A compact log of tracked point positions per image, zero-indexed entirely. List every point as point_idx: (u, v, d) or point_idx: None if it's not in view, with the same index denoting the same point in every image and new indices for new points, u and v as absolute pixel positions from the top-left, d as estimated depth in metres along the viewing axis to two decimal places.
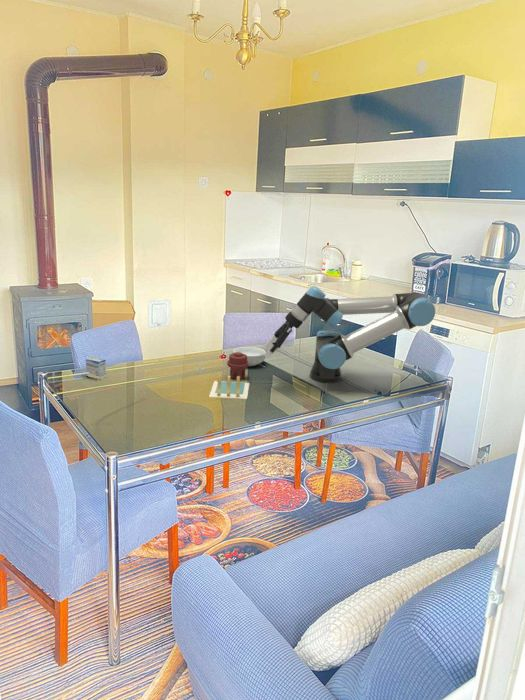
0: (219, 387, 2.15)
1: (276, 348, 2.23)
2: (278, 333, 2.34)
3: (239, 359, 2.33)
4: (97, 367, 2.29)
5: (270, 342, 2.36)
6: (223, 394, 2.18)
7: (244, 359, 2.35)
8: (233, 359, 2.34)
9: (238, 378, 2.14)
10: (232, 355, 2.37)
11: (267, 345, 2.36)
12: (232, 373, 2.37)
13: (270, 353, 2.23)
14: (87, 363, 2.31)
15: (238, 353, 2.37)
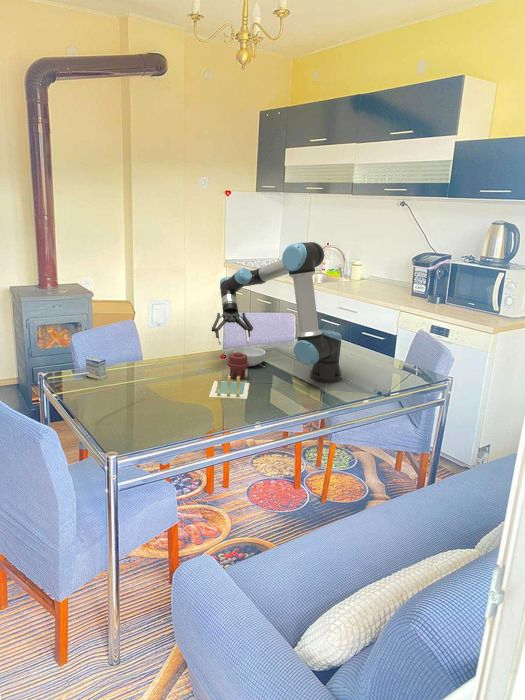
0: (219, 387, 2.15)
1: (218, 331, 2.46)
2: (243, 327, 2.51)
3: (239, 359, 2.33)
4: (97, 367, 2.29)
5: (246, 337, 2.49)
6: (223, 394, 2.18)
7: (244, 359, 2.35)
8: (233, 359, 2.34)
9: (238, 378, 2.14)
10: (232, 355, 2.37)
11: (246, 341, 2.48)
12: (232, 373, 2.37)
13: (218, 338, 2.45)
14: (87, 363, 2.31)
15: (238, 353, 2.37)
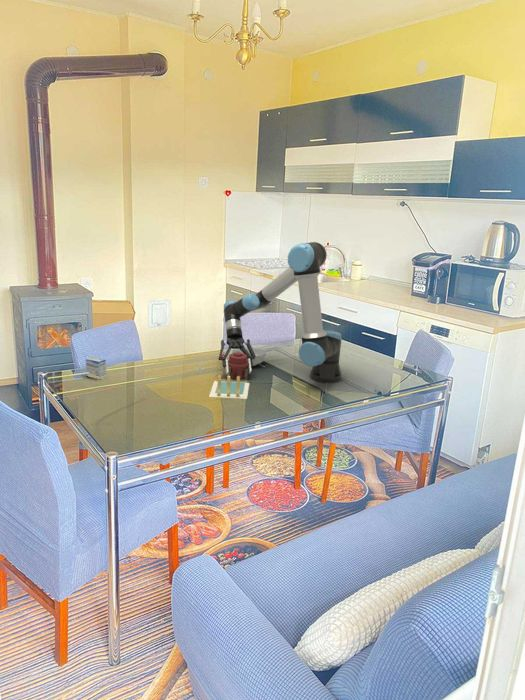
0: (219, 387, 2.15)
1: (225, 360, 2.37)
2: None
3: (239, 359, 2.33)
4: (97, 367, 2.29)
5: (248, 366, 2.39)
6: (223, 394, 2.18)
7: (244, 359, 2.35)
8: (233, 359, 2.34)
9: (238, 378, 2.14)
10: (232, 355, 2.37)
11: None
12: (232, 373, 2.37)
13: (226, 367, 2.36)
14: (87, 363, 2.31)
15: (238, 353, 2.37)
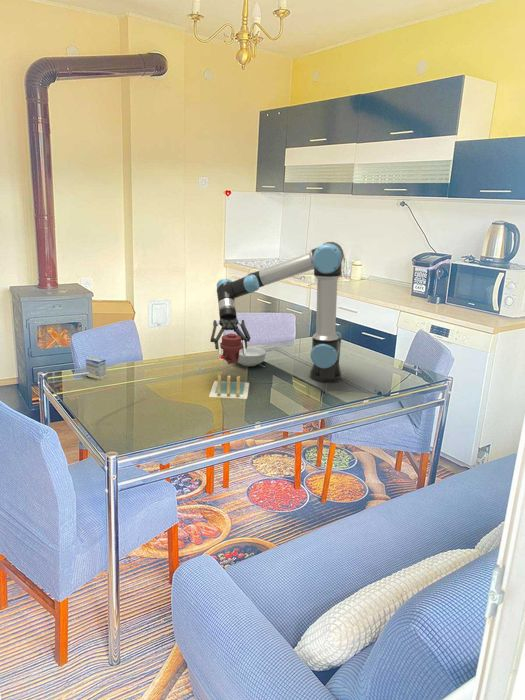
0: (219, 387, 2.15)
1: (218, 342, 2.19)
2: (240, 336, 2.24)
3: (232, 340, 2.16)
4: (97, 367, 2.29)
5: (242, 349, 2.22)
6: (223, 394, 2.18)
7: (238, 341, 2.17)
8: (226, 341, 2.16)
9: (238, 378, 2.14)
10: (225, 336, 2.19)
11: (243, 353, 2.21)
12: (225, 356, 2.19)
13: (218, 350, 2.18)
14: (87, 363, 2.31)
15: (231, 334, 2.19)
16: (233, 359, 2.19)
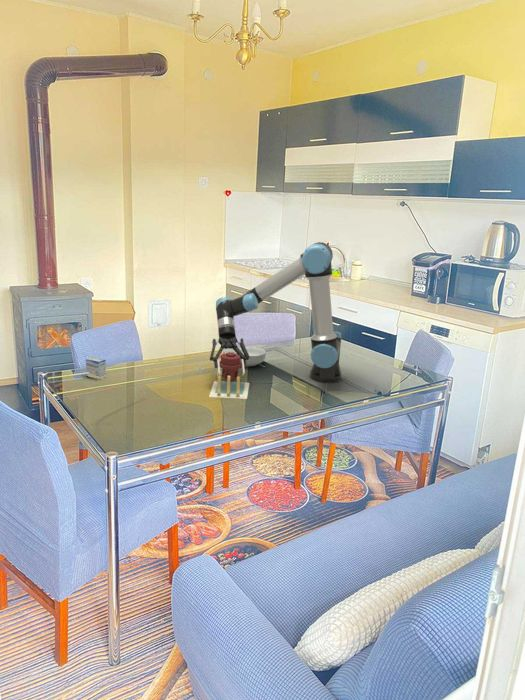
0: (219, 387, 2.15)
1: (217, 361, 2.21)
2: (238, 354, 2.26)
3: (231, 359, 2.18)
4: (97, 367, 2.29)
5: (241, 367, 2.24)
6: (223, 394, 2.18)
7: (237, 360, 2.19)
8: (225, 360, 2.18)
9: (238, 378, 2.14)
10: (224, 355, 2.21)
11: (242, 372, 2.23)
12: (224, 375, 2.21)
13: (217, 369, 2.20)
14: (87, 363, 2.31)
15: (230, 353, 2.21)
16: (232, 378, 2.21)
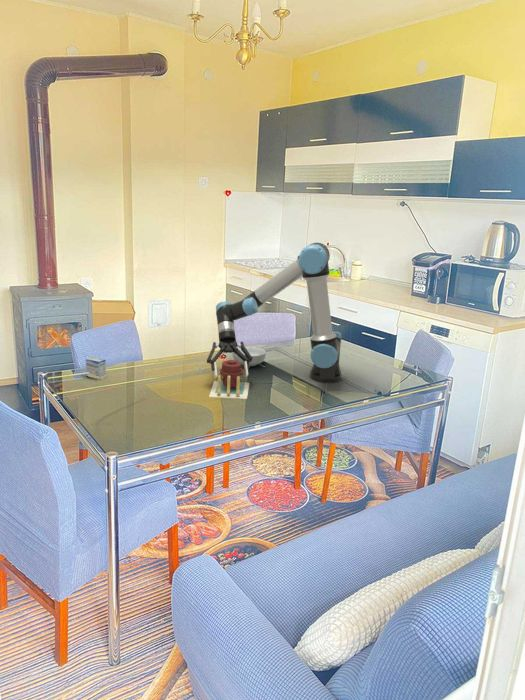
0: (219, 387, 2.15)
1: (214, 363, 2.22)
2: (241, 357, 2.28)
3: (232, 367, 2.19)
4: (97, 367, 2.29)
5: (245, 369, 2.25)
6: (223, 394, 2.18)
7: (238, 367, 2.20)
8: (226, 367, 2.19)
9: (238, 378, 2.14)
10: (225, 363, 2.22)
11: (245, 373, 2.25)
12: (225, 382, 2.22)
13: (214, 371, 2.21)
14: (87, 363, 2.31)
15: (231, 361, 2.22)
16: (233, 385, 2.22)
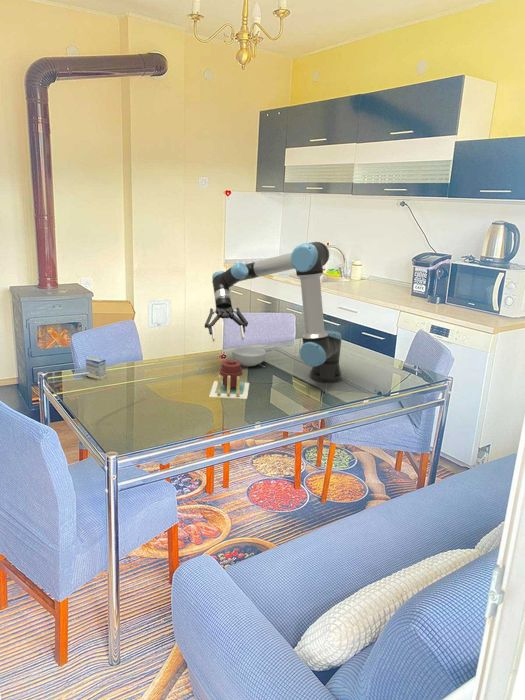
0: (219, 387, 2.15)
1: (211, 327, 2.35)
2: (237, 322, 2.40)
3: (232, 367, 2.19)
4: (97, 367, 2.29)
5: (241, 333, 2.38)
6: (223, 394, 2.18)
7: (237, 367, 2.20)
8: (226, 367, 2.19)
9: (238, 378, 2.14)
10: (225, 363, 2.22)
11: (241, 337, 2.37)
12: (225, 382, 2.22)
13: (212, 335, 2.33)
14: (87, 363, 2.31)
15: (231, 361, 2.22)
16: (233, 385, 2.22)
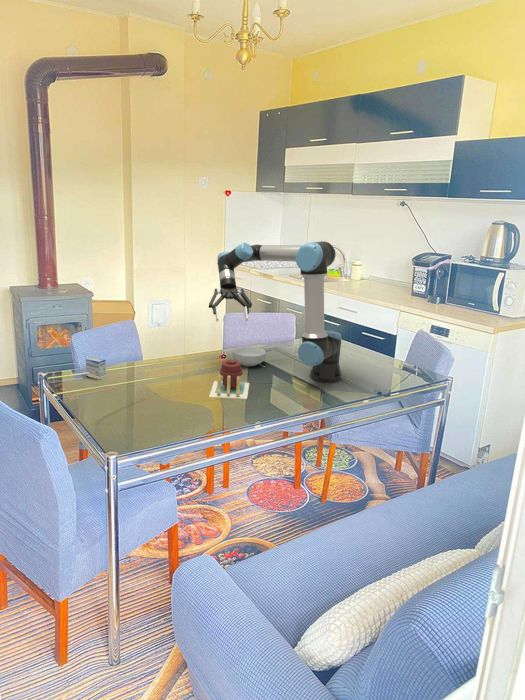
0: (219, 387, 2.15)
1: (215, 307, 2.34)
2: (241, 303, 2.39)
3: (232, 367, 2.19)
4: (97, 367, 2.29)
5: (245, 314, 2.37)
6: (223, 394, 2.18)
7: (237, 367, 2.20)
8: (226, 367, 2.19)
9: (238, 378, 2.14)
10: (225, 363, 2.22)
11: (245, 318, 2.37)
12: (225, 382, 2.22)
13: (216, 315, 2.33)
14: (87, 363, 2.31)
15: (231, 361, 2.22)
16: (233, 385, 2.22)
